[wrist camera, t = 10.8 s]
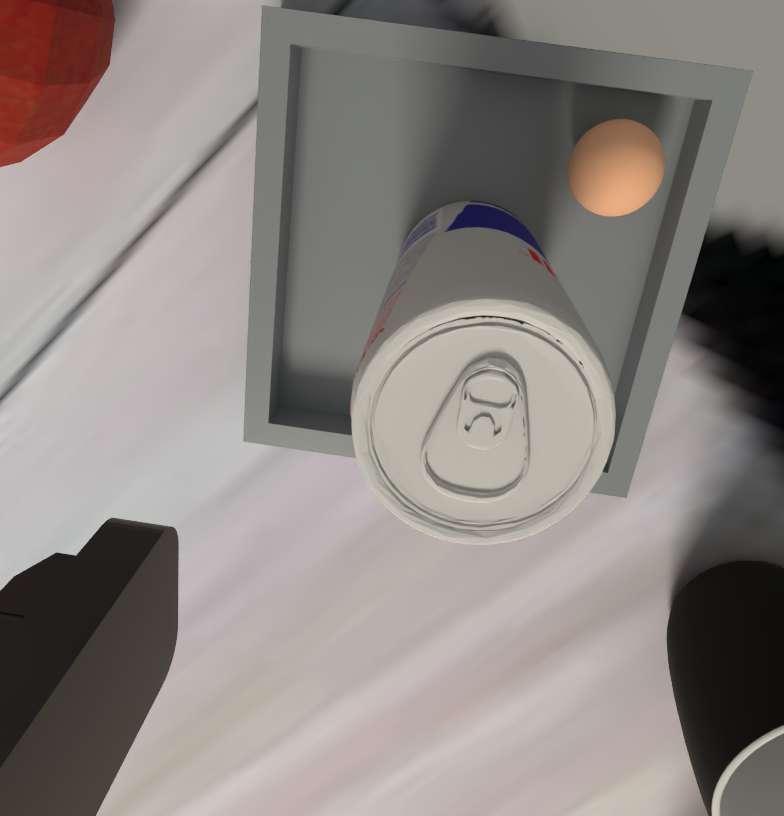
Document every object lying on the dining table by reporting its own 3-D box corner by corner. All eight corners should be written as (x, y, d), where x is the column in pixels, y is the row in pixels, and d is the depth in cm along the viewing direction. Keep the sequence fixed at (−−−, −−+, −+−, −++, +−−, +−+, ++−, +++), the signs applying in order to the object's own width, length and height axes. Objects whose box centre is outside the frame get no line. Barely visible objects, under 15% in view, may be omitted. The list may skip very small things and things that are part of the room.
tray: (725, 73, 25) (753, 70, 23) (613, 468, 32) (626, 497, 29) (279, 13, 26) (262, 5, 23) (258, 416, 32) (243, 441, 30)
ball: (661, 124, 25) (689, 127, 22) (638, 215, 27) (661, 229, 24) (572, 111, 25) (588, 113, 23) (553, 203, 27) (566, 216, 24)
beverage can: (435, 362, 30) (417, 586, 16) (373, 239, 28) (292, 372, 14) (562, 305, 28) (664, 495, 14) (506, 172, 26) (560, 246, 13)
